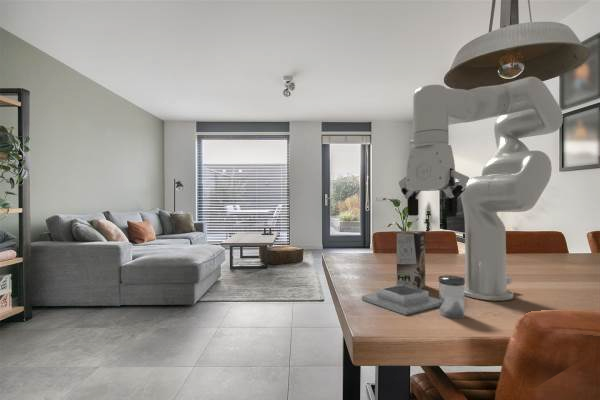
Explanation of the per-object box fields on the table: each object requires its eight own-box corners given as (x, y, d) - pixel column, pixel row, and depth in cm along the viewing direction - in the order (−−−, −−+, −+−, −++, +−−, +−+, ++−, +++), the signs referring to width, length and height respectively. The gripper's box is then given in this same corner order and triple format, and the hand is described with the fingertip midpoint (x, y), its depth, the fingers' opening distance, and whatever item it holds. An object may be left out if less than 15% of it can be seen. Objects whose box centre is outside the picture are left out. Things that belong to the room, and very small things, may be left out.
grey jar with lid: (448, 309, 77) (448, 274, 77) (470, 315, 73) (469, 278, 73) (434, 313, 74) (433, 277, 74) (455, 320, 70) (455, 281, 70)
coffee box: (419, 292, 92) (418, 233, 92) (395, 289, 95) (395, 232, 96) (426, 285, 100) (425, 231, 100) (404, 282, 103) (404, 230, 103)
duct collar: (400, 292, 92) (400, 281, 92) (445, 304, 80) (445, 292, 80) (361, 299, 85) (361, 287, 85) (405, 315, 73) (405, 301, 73)
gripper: (390, 145, 82) (390, 215, 82) (457, 132, 68) (458, 217, 67) (409, 148, 86) (409, 214, 86) (477, 137, 72) (477, 216, 72)
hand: (431, 216), depth 77 cm, fingers open, 9 cm apart
